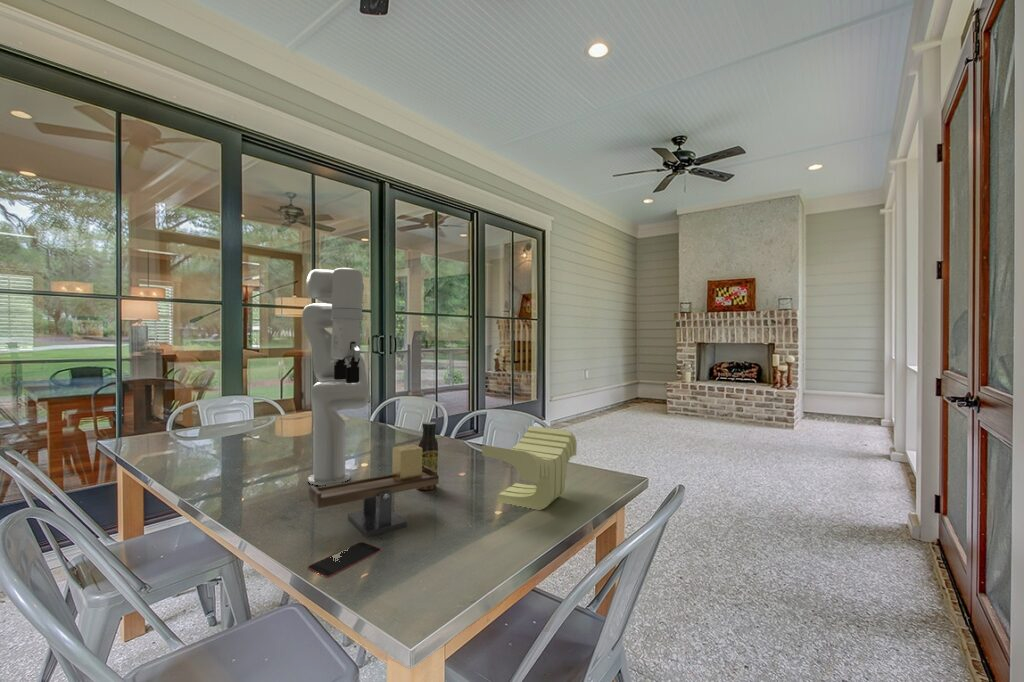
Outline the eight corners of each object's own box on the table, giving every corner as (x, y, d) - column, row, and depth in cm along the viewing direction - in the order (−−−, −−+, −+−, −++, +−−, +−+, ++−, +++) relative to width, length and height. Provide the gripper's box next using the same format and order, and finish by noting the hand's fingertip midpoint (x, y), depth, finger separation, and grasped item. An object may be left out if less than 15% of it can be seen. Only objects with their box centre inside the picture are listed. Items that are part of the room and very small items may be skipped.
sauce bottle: (419, 492, 137) (420, 425, 136) (413, 486, 142) (414, 421, 142) (440, 489, 140) (441, 423, 139) (434, 483, 145) (434, 420, 145)
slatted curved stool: (535, 524, 115) (537, 453, 115) (481, 511, 123) (482, 445, 122) (575, 488, 142) (576, 431, 142) (528, 480, 149) (529, 425, 149)
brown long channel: (308, 500, 109) (309, 484, 109) (424, 478, 127) (424, 465, 127) (318, 511, 102) (318, 494, 102) (438, 486, 121) (438, 472, 121)
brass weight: (392, 477, 120) (392, 447, 120) (413, 473, 124) (413, 444, 124) (400, 482, 116) (400, 451, 116) (421, 478, 120) (422, 448, 120)
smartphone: (383, 549, 100) (327, 577, 89) (383, 551, 100) (327, 580, 89) (361, 540, 104) (305, 566, 92) (361, 543, 104) (305, 569, 92)
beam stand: (347, 518, 117) (348, 483, 117) (385, 509, 123) (386, 476, 123) (366, 536, 107) (366, 498, 106) (406, 526, 113) (407, 489, 112)
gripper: (322, 316, 125) (322, 378, 126) (342, 314, 112) (342, 385, 112) (350, 317, 130) (349, 377, 130) (373, 315, 116) (372, 383, 117)
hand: (346, 381), depth 121 cm, fingers open, 9 cm apart
